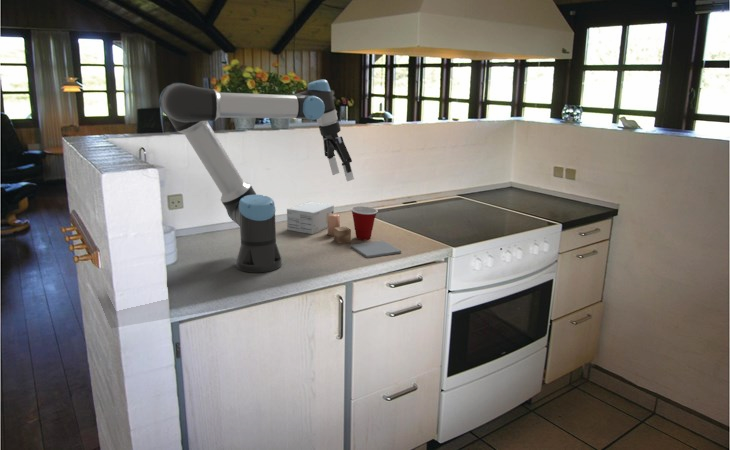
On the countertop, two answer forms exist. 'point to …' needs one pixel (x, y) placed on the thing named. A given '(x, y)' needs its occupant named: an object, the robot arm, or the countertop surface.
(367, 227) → the plastic cup
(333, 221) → the pink cylinder
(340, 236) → the walnut block
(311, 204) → the supplement box
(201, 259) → the countertop surface
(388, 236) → the countertop surface
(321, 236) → the countertop surface
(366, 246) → the mat
